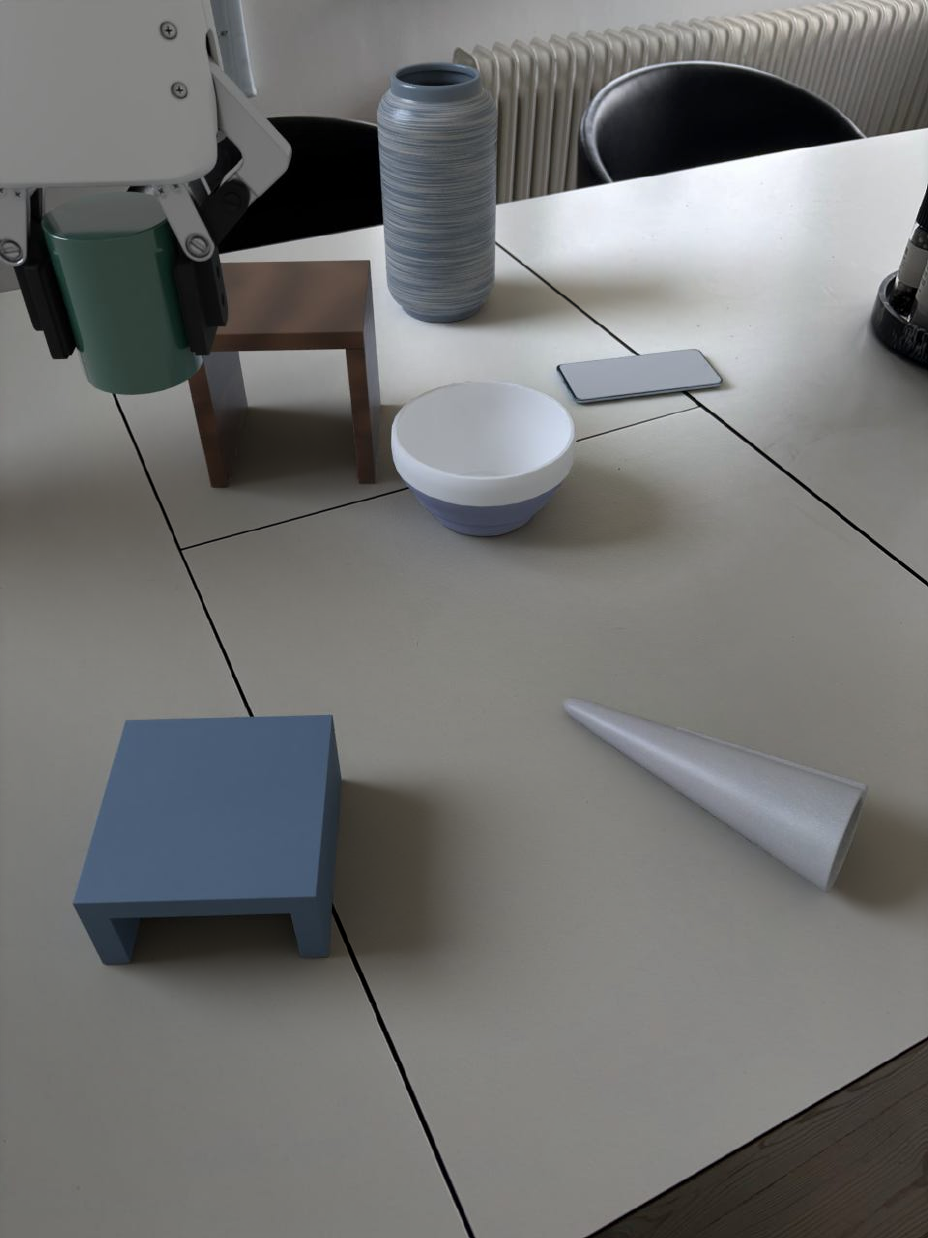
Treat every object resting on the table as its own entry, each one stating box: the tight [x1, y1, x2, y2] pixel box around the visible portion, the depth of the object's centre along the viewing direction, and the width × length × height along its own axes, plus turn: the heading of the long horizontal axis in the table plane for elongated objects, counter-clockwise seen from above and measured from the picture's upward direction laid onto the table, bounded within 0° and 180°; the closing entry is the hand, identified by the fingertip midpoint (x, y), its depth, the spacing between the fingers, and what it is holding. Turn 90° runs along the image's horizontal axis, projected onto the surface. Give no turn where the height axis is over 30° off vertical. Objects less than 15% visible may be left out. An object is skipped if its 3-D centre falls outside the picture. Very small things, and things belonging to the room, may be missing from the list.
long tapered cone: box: [562, 697, 869, 893], centre depth 60 cm, size 6×6×19 cm
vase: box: [376, 61, 498, 324], centre depth 102 cm, size 12×12×23 cm
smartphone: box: [555, 348, 724, 404], centre depth 98 cm, size 7×1×15 cm
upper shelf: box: [187, 259, 382, 488], centre depth 85 cm, size 14×13×14 cm
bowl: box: [390, 380, 578, 537], centre depth 80 cm, size 14×14×8 cm
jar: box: [41, 191, 203, 396], centre depth 41 cm, size 5×5×6 cm
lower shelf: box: [72, 714, 343, 965], centre depth 56 cm, size 12×12×6 cm
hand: (137, 337), depth 42 cm, fingers closed on jar, 5 cm apart
